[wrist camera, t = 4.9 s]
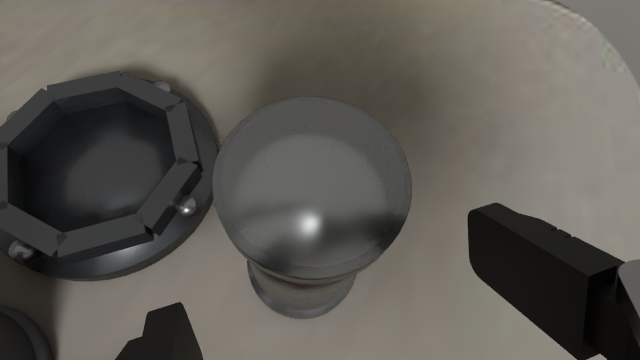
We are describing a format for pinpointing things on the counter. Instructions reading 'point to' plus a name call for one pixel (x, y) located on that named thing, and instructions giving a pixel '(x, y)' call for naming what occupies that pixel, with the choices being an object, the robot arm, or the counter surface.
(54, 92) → the flange
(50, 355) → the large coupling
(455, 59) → the counter surface
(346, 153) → the fitting
